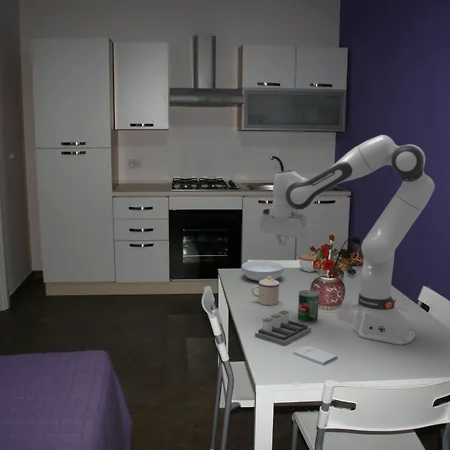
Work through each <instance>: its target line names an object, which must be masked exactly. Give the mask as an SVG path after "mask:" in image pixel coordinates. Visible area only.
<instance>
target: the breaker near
mask: <svg viewBox="0 0 450 450" xmlns="http://www.w3.org/2000/svg"><path fill="white" fill-rule="evenodd" d="M278 314H279V315H281V323H283V324H288V322H289V321H290V318H289V317H290V311H289V310H285V309H283V310H280V311H279V313H278Z"/></svg>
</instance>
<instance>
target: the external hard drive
mask: <svg viewBox="0 0 450 450" xmlns="http://www.w3.org/2000/svg"><path fill="white" fill-rule="evenodd" d="M292 355H295V356H297V357H300V358H303V359H306V360H307V361H311V362H313V363H316V364H318V365H322V366H325V365H327V364H329V363H332V362H334V361H335V360H338V357H339V356H338V355H336V354H333V353H330V352H328V351H324V350H322V349H319V348H316V347H313V346H310V345H308V344H307V345H305V346H303V347H300V348H297V349H296V350H294V351H293V354H292Z"/></svg>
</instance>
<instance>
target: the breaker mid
mask: <svg viewBox="0 0 450 450" xmlns="http://www.w3.org/2000/svg"><path fill="white" fill-rule="evenodd" d="M270 318H271V319H273V322H272V327H275V328H280V327H281V315H279V313H274V314H272V315H270Z"/></svg>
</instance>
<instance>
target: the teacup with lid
mask: <svg viewBox="0 0 450 450" xmlns="http://www.w3.org/2000/svg"><path fill="white" fill-rule="evenodd" d="M280 285H281V284H280V282H279V280H277V279H275V280H274V279H272V277H271V276H267V278H266V279H264V280H260V281H258V285H254V286H252V288H251V294H252V296H253V297H255V298H258V303H259V304H260V305H264V306H275V305H278V303H279V297H280V296H279V294H280V293H279V291H280ZM255 289H258V294H255V293H254V290H255Z"/></svg>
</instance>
